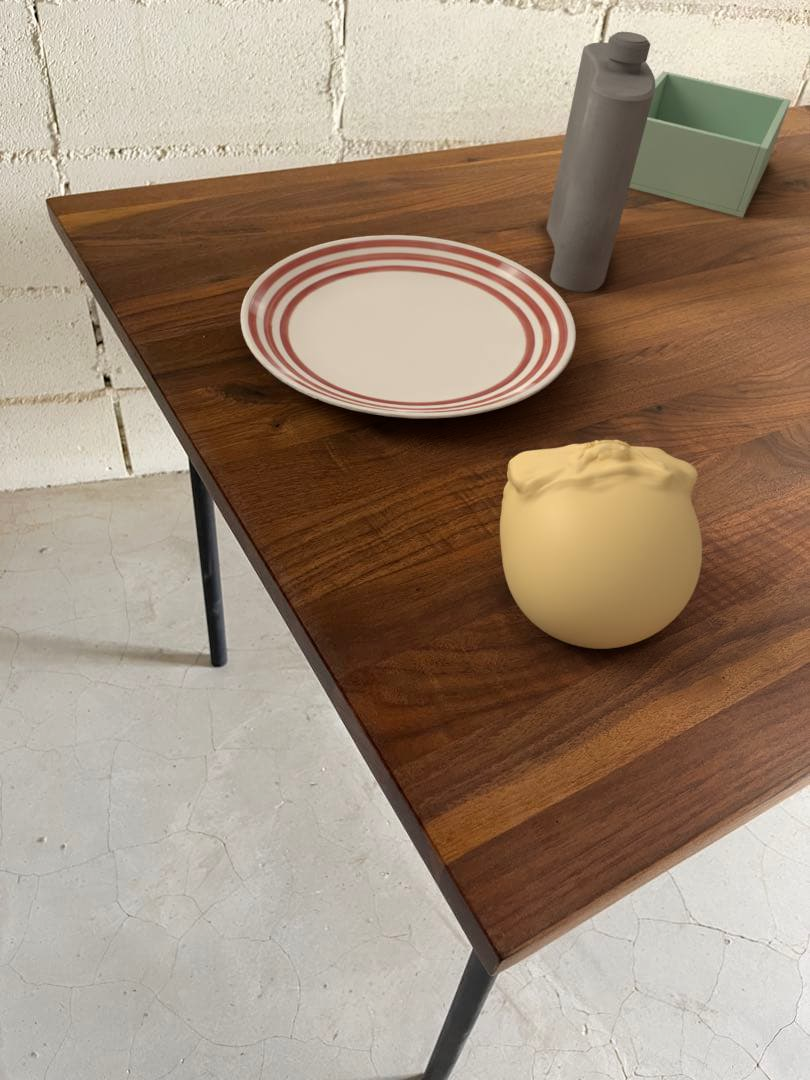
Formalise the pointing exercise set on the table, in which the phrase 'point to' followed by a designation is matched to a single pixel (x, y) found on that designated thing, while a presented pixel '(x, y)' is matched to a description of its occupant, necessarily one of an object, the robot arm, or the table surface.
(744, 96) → the basin
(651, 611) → the sculpture
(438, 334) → the dinner plate
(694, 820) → the table surface
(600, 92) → the flask
